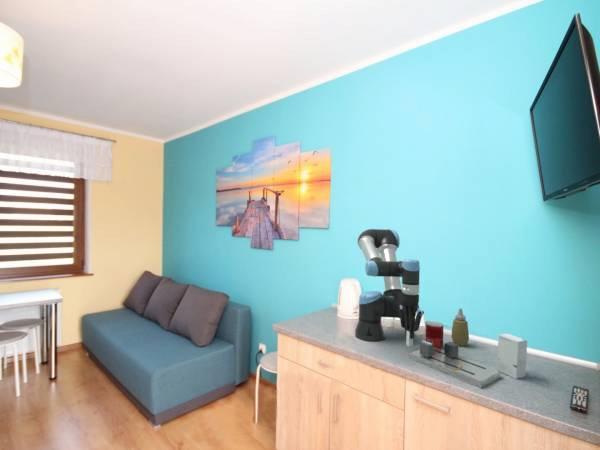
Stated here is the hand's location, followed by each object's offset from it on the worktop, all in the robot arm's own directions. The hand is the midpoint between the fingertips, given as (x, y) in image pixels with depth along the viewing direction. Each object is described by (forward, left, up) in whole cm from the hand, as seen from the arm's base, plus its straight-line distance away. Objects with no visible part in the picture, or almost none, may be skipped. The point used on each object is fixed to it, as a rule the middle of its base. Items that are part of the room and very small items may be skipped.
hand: (409, 344), depth 139 cm
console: (+18, +5, -5) cm, 19 cm away
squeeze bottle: (+6, +34, -5) cm, 34 cm away
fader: (+9, 0, -2) cm, 9 cm away
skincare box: (+34, +20, -5) cm, 39 cm away
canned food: (0, +21, -5) cm, 21 cm away
